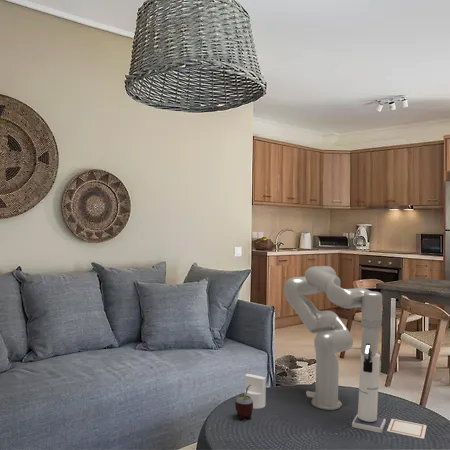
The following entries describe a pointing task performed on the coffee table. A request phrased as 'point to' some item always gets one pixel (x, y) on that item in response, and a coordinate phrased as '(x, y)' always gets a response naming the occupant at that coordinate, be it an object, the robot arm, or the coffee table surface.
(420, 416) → the coffee table surface
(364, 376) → the cylindrical container
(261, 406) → the base with upright slab
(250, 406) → the mate gourd
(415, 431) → the marked paper
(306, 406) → the coffee table surface
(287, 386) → the coffee table surface
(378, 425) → the ink pad
